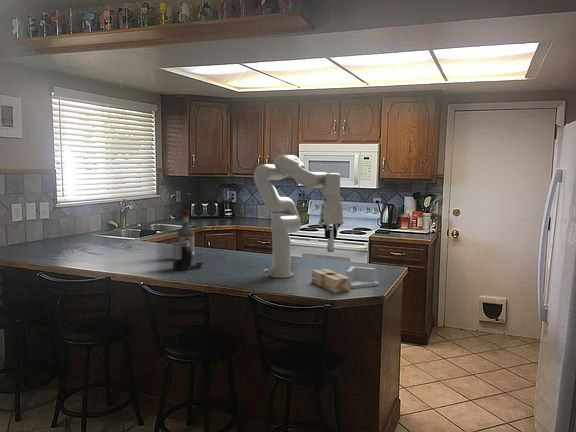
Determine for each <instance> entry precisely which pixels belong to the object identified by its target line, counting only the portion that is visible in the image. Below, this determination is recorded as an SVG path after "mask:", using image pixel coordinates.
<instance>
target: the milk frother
mask: <svg viewBox="0 0 576 432" xmlns="http://www.w3.org/2000/svg"><path fill="white" fill-rule="evenodd" d="M188 243H189V242H178V241H175V242H171V244H172V270H173V269H175V270H174V271H177V270H182V271H186V270H185V269H188V270H190V269H191V268H194V266H195V267H197V268H200V267H201V266H203V265H204V262H196V263H195V264H193V265H192V260H191V257H192V252H191V249H190V247H188ZM199 266H200V267H199Z"/></svg>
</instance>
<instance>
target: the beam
mask: <svg viewBox="0 0 576 432" xmlns="http://www.w3.org/2000/svg"><path fill="white" fill-rule="evenodd" d="M311 270H312V271H311V282H312V283H313V284H316V285H317V286H320V287H322V288H323V289H325V290H326V289H327V290H328V291H330V292H332V293H343V292H349V291H351V290H350V289H351V288H350V278H349V277H346V275H344V274H341V273H338V272H335V271H333V270H330V269H327V268H320V269H311Z"/></svg>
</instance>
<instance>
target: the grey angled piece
mask: <svg viewBox="0 0 576 432" xmlns="http://www.w3.org/2000/svg"><path fill="white" fill-rule="evenodd" d="M345 276H346V277H349V278H350V289H360V288H369V287H378V286H380V282H379V281H376V268H374V267H365V266H364V267H363V266H353V265H352V266H349V267H348V269H347V270H346V271H345Z"/></svg>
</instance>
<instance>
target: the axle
mask: <svg viewBox="0 0 576 432" xmlns="http://www.w3.org/2000/svg"><path fill="white" fill-rule="evenodd" d="M329 230H330V238H329V239H328V238H327V245H326V246H327V247H326V248H327V250H326V251H327V253H334V249H335V248H334V246H335V238H334V229H333V227H332V228H331V227H329Z"/></svg>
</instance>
